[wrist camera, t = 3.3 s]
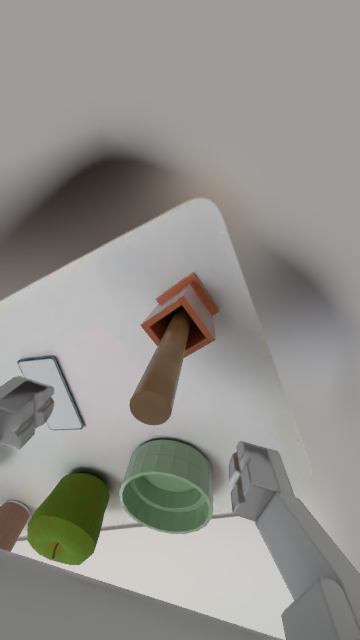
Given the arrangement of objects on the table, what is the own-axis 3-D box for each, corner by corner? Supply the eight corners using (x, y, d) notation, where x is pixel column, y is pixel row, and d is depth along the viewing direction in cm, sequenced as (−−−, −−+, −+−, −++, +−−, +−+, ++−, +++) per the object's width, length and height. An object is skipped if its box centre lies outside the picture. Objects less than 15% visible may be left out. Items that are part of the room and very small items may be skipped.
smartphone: (52, 356, 32) (83, 429, 36) (54, 354, 32) (85, 426, 37) (15, 360, 33) (50, 430, 38) (18, 358, 34) (52, 427, 38)
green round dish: (227, 480, 37) (231, 522, 31) (164, 501, 42) (157, 541, 36) (179, 424, 34) (174, 459, 28) (116, 453, 39) (100, 488, 33)
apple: (94, 455, 40) (53, 530, 29) (128, 494, 42) (102, 576, 32) (50, 469, 43) (-1, 541, 32) (85, 505, 46) (48, 582, 35)
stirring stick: (197, 307, 26) (179, 415, 9) (185, 315, 27) (147, 431, 10) (189, 294, 26) (153, 384, 9) (176, 303, 26) (120, 402, 9)
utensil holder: (219, 309, 26) (225, 341, 17) (182, 332, 28) (170, 372, 19) (193, 271, 25) (185, 285, 16) (156, 298, 27) (131, 323, 18)
